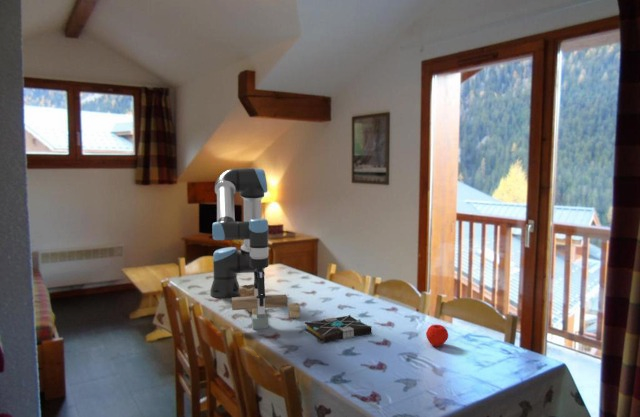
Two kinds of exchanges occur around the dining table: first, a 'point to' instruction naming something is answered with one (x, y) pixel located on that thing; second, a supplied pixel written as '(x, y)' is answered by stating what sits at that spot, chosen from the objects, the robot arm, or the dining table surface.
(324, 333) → the book
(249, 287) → the pipe
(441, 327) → the apple
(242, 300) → the rod
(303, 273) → the dining table surface
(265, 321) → the block
